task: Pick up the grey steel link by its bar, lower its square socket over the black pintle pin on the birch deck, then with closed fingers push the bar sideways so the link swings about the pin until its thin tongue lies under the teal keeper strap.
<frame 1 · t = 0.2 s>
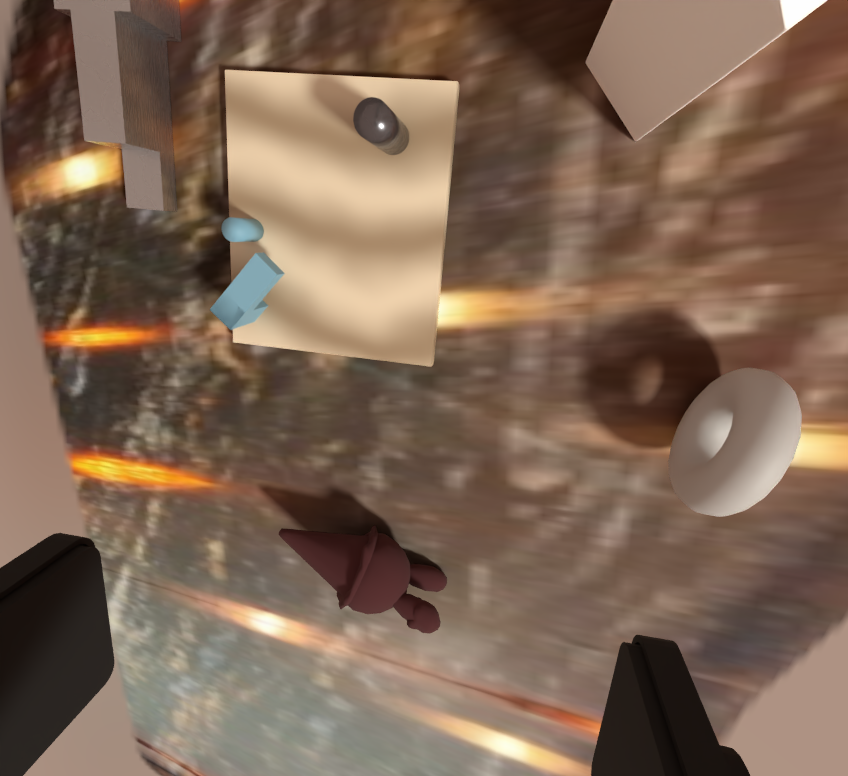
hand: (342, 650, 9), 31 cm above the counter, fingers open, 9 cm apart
keeper: (245, 270, 37), resting on deck
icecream: (373, 544, 45), on the counter
deck: (338, 226, 37), on the counter
link: (159, 209, 39), on the counter
pintle: (383, 128, 31), on the deck, point 4 cm above the counter
milk: (651, 70, 32), on the counter
donut: (698, 413, 37), on the counter
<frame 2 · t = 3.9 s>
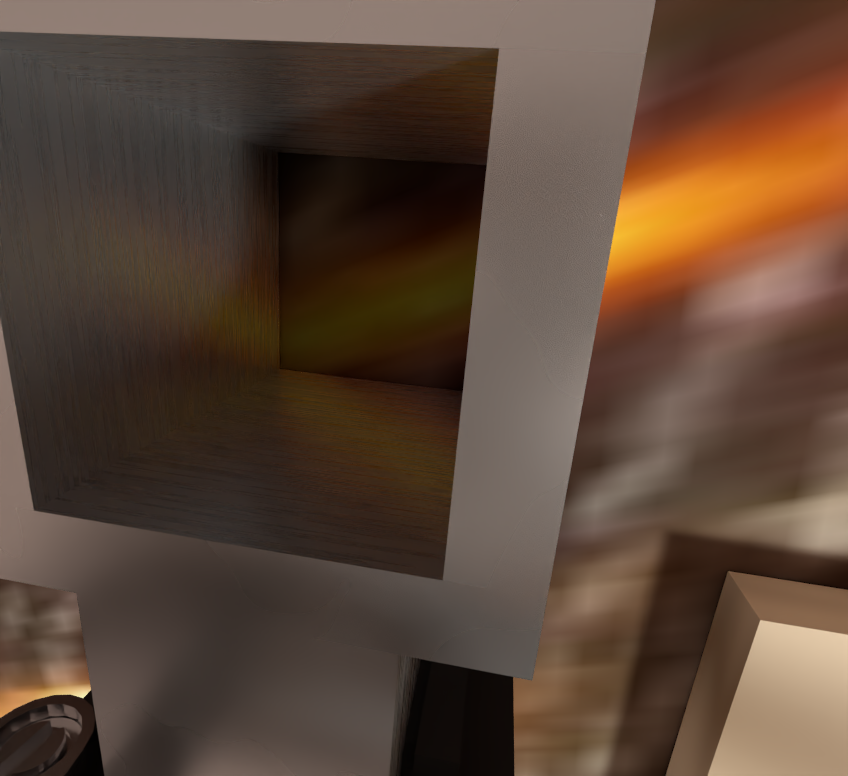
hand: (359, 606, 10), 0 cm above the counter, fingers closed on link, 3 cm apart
when the fingers open (2 cm above the counter, at t = 9.0 s): link stays where it is, resting on deck.
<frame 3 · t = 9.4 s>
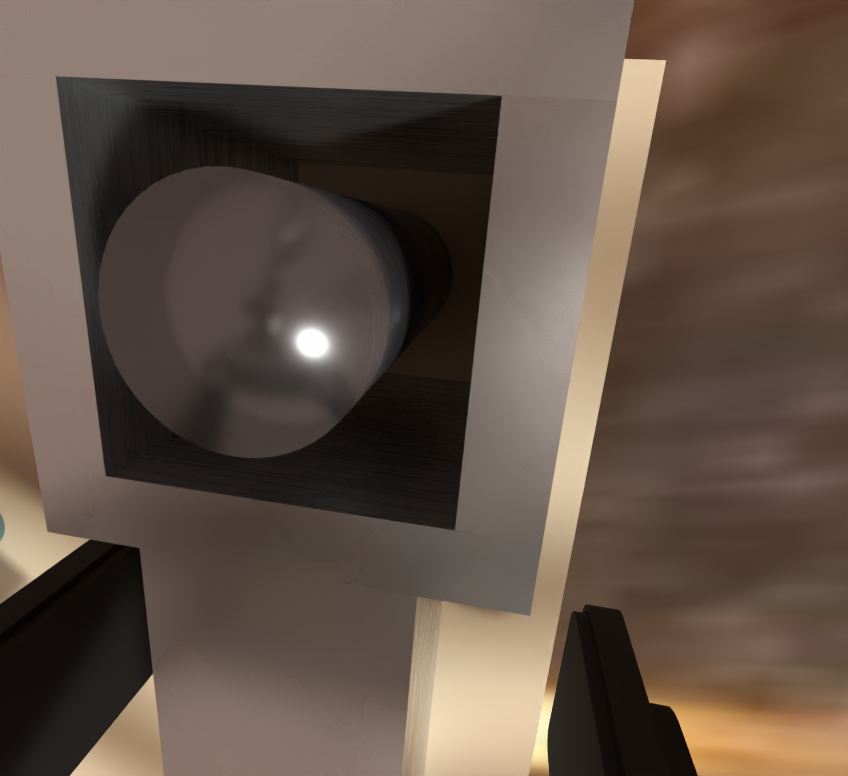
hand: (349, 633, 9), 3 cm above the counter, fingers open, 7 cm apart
deck: (231, 501, 13), on the counter
pintle: (344, 288, 6), on the deck, point 4 cm above the counter
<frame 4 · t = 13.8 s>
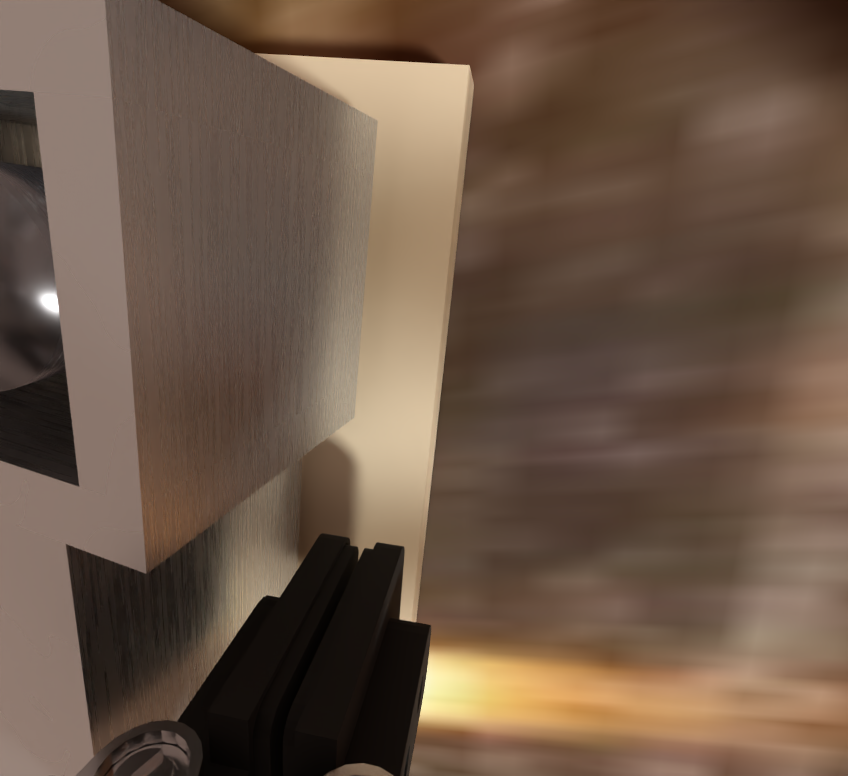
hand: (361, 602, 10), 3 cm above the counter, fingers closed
deck: (132, 469, 13), on the counter
link: (240, 772, 14), point 1 cm above the counter, tilted 9°, touching deck, gripper, pintle
pintle: (154, 263, 7), on the deck, point 4 cm above the counter
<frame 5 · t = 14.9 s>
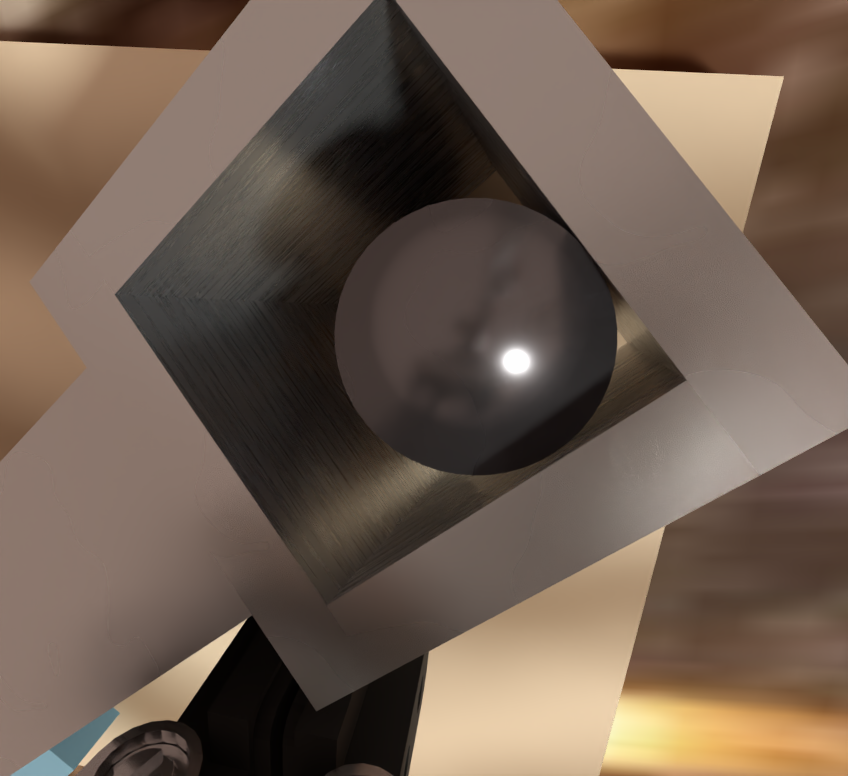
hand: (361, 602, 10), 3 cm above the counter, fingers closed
keeper: (24, 645, 12), resting on deck
deck: (305, 503, 13), on the counter
link: (61, 644, 13), point 2 cm above the counter, tilted 12°, touching deck, gripper, keeper, pintle
pintle: (485, 302, 7), on the deck, point 4 cm above the counter
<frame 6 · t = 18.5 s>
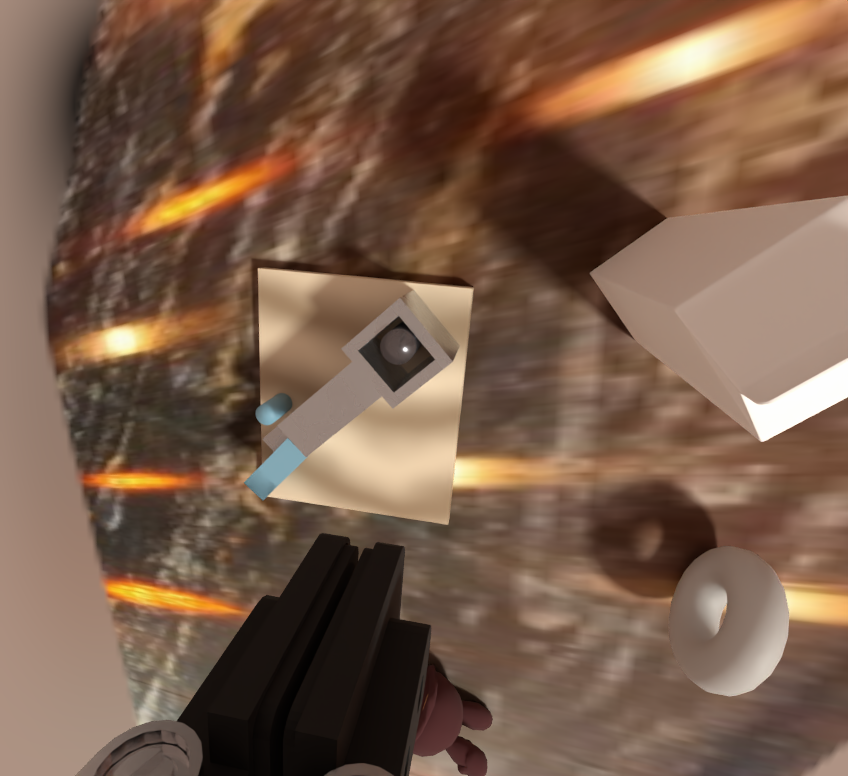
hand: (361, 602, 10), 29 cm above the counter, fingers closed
keeper: (275, 441, 40), resting on deck
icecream: (425, 675, 48), on the counter
deck: (361, 397, 40), on the counter
link: (283, 445, 41), point 1 cm above the counter, touching deck
pintle: (405, 339, 34), on the deck, point 4 cm above the counter
milk: (650, 281, 35), on the counter
donut: (696, 570, 40), on the counter
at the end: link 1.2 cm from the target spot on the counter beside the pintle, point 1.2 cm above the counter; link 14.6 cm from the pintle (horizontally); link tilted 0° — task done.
